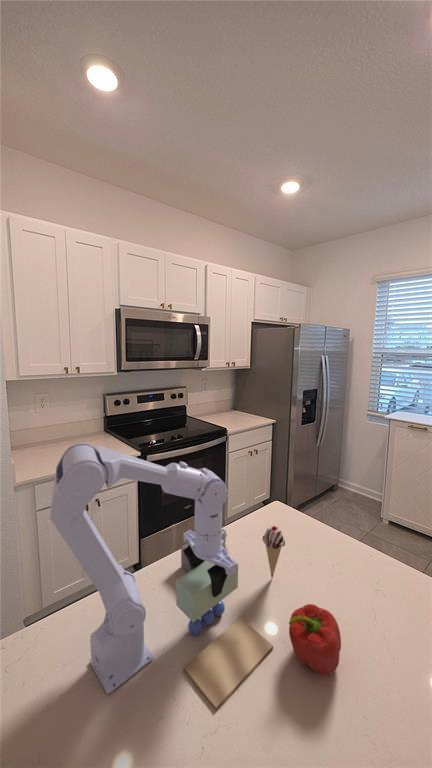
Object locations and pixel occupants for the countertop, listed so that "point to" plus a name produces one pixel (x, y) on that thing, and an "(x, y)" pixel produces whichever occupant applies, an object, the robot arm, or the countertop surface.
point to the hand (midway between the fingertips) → (207, 585)
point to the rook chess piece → (224, 539)
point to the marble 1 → (195, 627)
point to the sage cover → (201, 591)
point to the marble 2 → (207, 617)
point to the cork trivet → (227, 661)
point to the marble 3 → (218, 608)
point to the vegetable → (315, 638)
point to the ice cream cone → (273, 546)
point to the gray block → (185, 559)
